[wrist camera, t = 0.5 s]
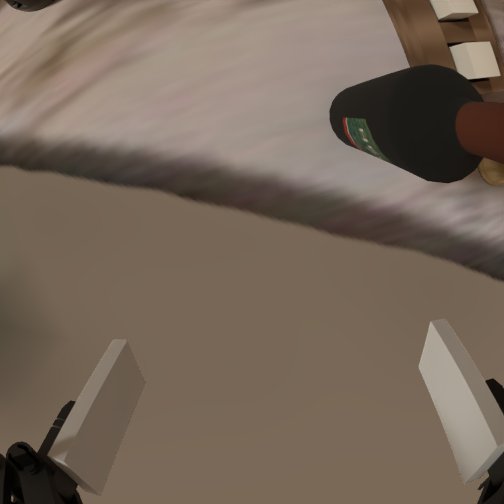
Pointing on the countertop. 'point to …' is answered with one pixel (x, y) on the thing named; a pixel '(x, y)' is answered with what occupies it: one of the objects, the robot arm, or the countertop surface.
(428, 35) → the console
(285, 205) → the countertop surface
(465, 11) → the middle button
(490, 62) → the outer button
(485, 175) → the hand bell
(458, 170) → the wine bottle
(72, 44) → the countertop surface
